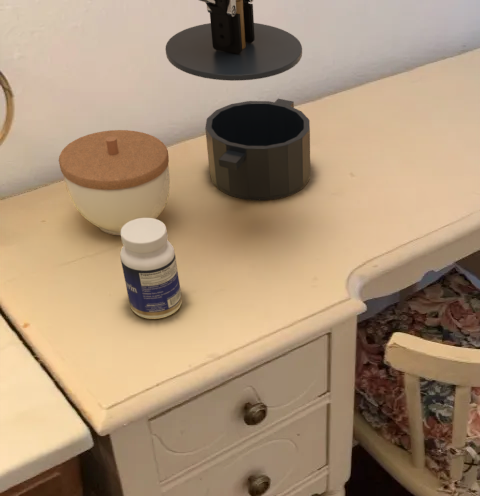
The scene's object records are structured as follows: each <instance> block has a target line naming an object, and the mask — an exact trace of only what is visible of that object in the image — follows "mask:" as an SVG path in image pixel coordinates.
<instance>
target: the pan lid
mask: <svg viewBox="0 0 480 496" xmlns="http://www.w3.org/2000/svg"><path fill="white" fill-rule="evenodd" d="M236 13H237V14H240V21H241V37H242V51H241V52H240V53H239V54H234V53H229V52H224V51H218V50H215V49H214V48H213V44H212V32H211V22H209V23H202V24H199V25H194V26H191V27H188V28H185V29H183V30H181V31H179V32H176V33H175V34H173V36H171V37H170V38H169V39H168V41H167V42H166V45H165V55H166V58H167V60H168V62H169V63H170V64H171V65H172V66H173V67H175V68H176V69H178V70H179V71H182V72H184V73H186V74H189V75H192V76H195V77H200V78H203V79H209V80H216V81H217V80H218V81H237V82H238V81H252V80H259V79H265V78H266V79H267V78H270V77H273V76H277V75H280V74H282V73H285V72H287V71H289V70H291V69H292V68H295V66H296V65H298V64H299V62H300V61H301V59H302V56H303V46H302V44H301V42H300V40H299V39H298V38H297V37H296V36H295V35H293V34H292V33H290V32H288V31H286V30H284V29H282V28H279V27H276V26H272V25H268V24H264V23H258V22H254V36H255V40H254V41H253V42H252V43H246V42H245V28H244V11H243V0H236Z"/></svg>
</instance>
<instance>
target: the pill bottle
mask: <svg viewBox="0 0 480 496" xmlns="http://www.w3.org/2000/svg"><path fill="white" fill-rule="evenodd" d="M120 239H121V243H122V247H121V250H120V253H119V256H120V262H121V268H122V272H123V278H124V283H125V287H126V292H127V297H128V302H129V307H130V309H131V310H132V312H134V314H135V315H137V316H139V317H140V318H145V319H148V320H149V319H150V320H157V319H163V318H167V317H170V316H171V315H173V314H175V313H176V312H177V311H178V310H179V309H180V307H181V305H182V303H183V302H182V301H183V295H182V291H181V284H180V278H179V277H180V276H179V272H178V265H177V257H176V251H175V247H174V246H173V244H172V243H171V242H170V241H169V240H168V239H169V235H168V231H167V226H166V224H165V223H164V222H163V221H162V220H159V219H158V218H156V219H153V218H138V219H134V220H132V221H129V222H128V223H126V224H125V225H124V226H123V227H122V229H121V235H120Z"/></svg>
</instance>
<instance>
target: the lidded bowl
mask: <svg viewBox="0 0 480 496" xmlns="http://www.w3.org/2000/svg"><path fill="white" fill-rule="evenodd" d="M169 162H170V159H169V150H168V148H167V146H166V145H165V143H164V142H163V141H161V140H160V138H157V137H156V136H154V135H152V134H150V133H145V132H143V131H136V130H128V129H114V130H113V129H112V130H110V129H109V130H103V131H97V132H93V133H90V134H86V135H83V136H81V137H79V138H76V139H75V140H72V141H71V142H69V143H68V144H66V146H65V147H64V148H63V149H62V150H61V152H60V154H59V156H58V164H59V168H60V172H61V174H62V175H63V180H64V183H65V187H66V190H67V192H68V193H67V194H68V195H69V197H70V199H71V201H72V203H73V205H74V208H76V210H77V212H79V214H80V215H81V216H82V218H84V219H85V220H86V221H88V222H89V223H91V224H92V225H94V226H96V227H98V229H99V230H100V231H102V232H103V233H106V234H108V235H112V236H121V229H122V227H123V226H124V225H125V224H126V223H128V222H129V221H132V220H134V219H138V218H153V219H158V218H159V216H160V215H161V214H162V213H163V211H164V210H165V207H166V205H167V203H168V200H169V195H170V188H171V175H170V166H169Z"/></svg>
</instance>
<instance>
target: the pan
mask: <svg viewBox="0 0 480 496" xmlns="http://www.w3.org/2000/svg"><path fill="white" fill-rule="evenodd" d="M310 122H311V121H310V119H309V118H308V117H307V116H306V114H305V113H303V111H302V110H299V109H297V108H295V102H294V101H293V100H288V99H283V98H277V99H276V100H275V101H269V100H246V101H242V102H241V101H240V102H235V103H231V104H228V105H225V106H223V107H221V108H218V109H216V110H215V111H213V112H212V113H211V114H210V115H209V116H208V117H207V118H206V121H205V128H204V130H205V138H206V139H205V140H206V150H207V157H208V169H209V175H210V176H209V177H210V179H211V182H212V183H213V185H214V186H215V187H216V188H217V189H218V190H219V191H221V192H222V193H224V194H226V195H228V196H230V197H232V198H237V199H240V200H241V199H242V200H245V201H246V200H247V201H272V200H274V201H275V200H280V199H284V198H287V197H290V196H292V195H294V194H296V193H298V192H300V191H302V190H303V189H304V188H305V187H306V186H307V185H308V183H309V181H310V178H311V133H310V132H311V127H310V126H311V123H310Z"/></svg>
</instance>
